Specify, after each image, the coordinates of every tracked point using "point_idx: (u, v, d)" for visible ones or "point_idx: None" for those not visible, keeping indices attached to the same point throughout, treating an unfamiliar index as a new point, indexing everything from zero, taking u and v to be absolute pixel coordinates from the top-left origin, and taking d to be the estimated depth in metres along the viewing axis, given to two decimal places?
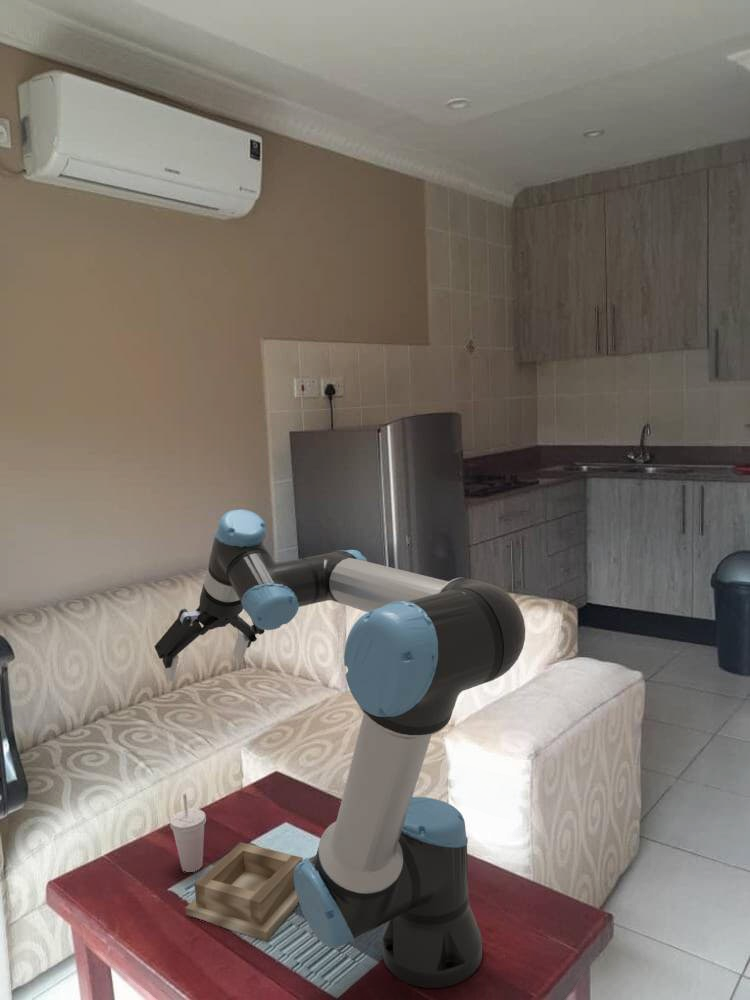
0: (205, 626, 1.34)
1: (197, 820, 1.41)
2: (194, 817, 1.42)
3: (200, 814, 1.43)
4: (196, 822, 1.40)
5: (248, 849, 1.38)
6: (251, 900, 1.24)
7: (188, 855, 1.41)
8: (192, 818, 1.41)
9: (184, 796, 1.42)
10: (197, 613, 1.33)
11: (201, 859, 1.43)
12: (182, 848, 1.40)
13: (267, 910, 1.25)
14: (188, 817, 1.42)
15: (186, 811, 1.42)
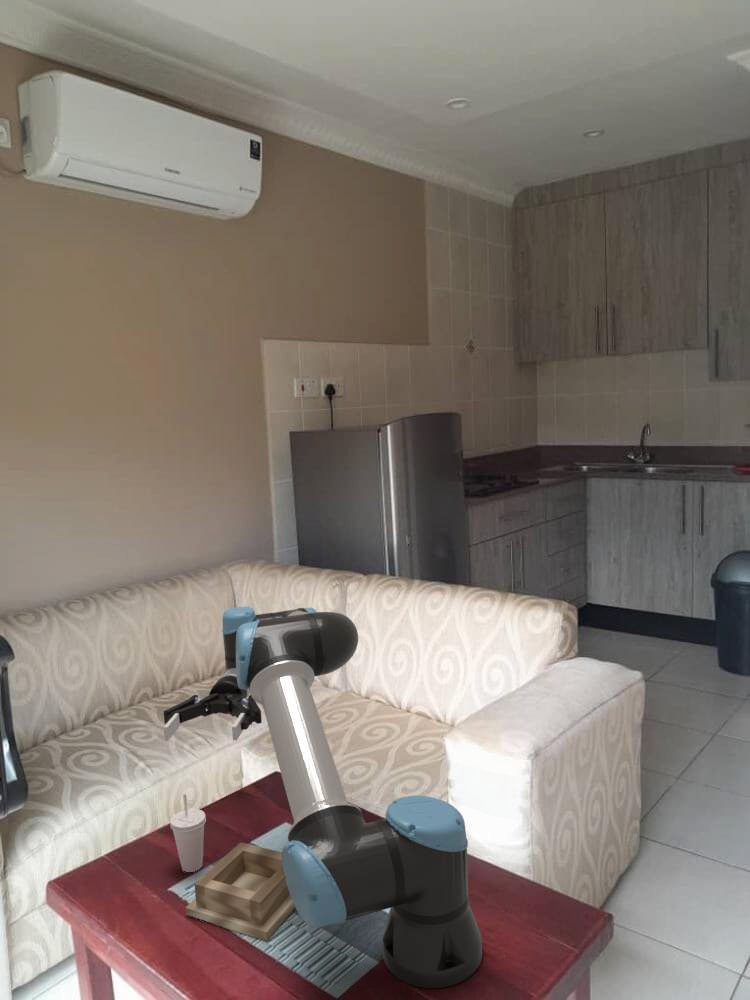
0: (207, 698, 1.64)
1: (197, 820, 1.41)
2: (194, 817, 1.42)
3: (200, 814, 1.43)
4: (196, 822, 1.40)
5: (248, 849, 1.38)
6: (251, 900, 1.24)
7: (188, 855, 1.41)
8: (192, 818, 1.41)
9: (184, 796, 1.42)
10: None
11: (201, 859, 1.43)
12: (182, 848, 1.40)
13: (267, 910, 1.25)
14: (188, 817, 1.42)
15: (186, 811, 1.42)
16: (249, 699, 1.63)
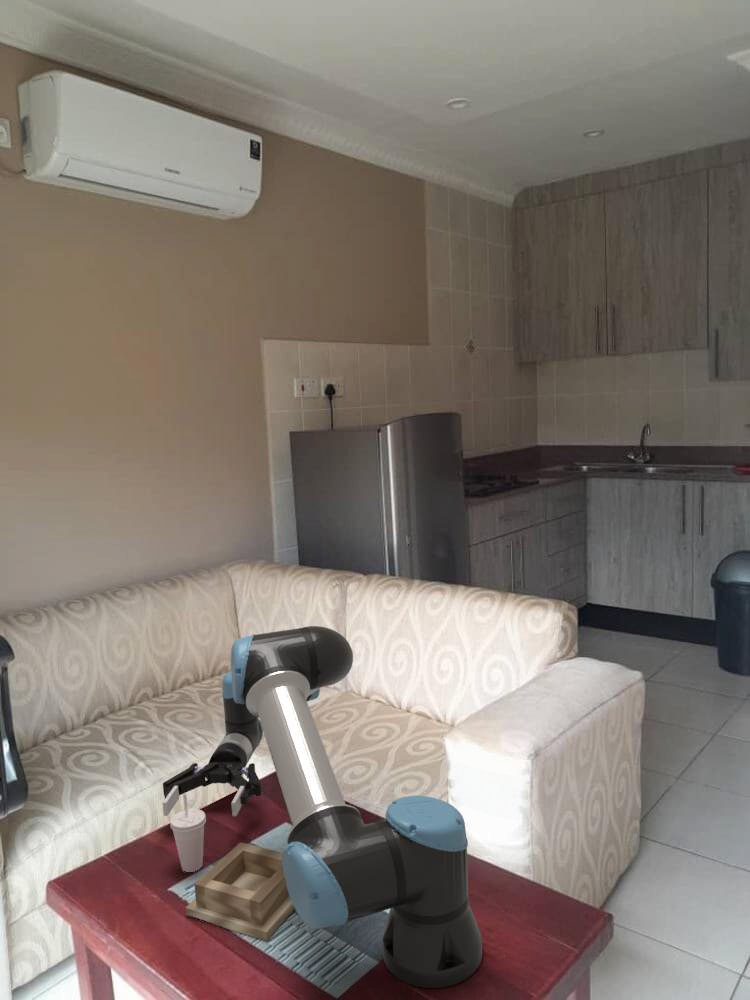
0: None
1: (197, 820, 1.41)
2: (194, 817, 1.42)
3: (200, 814, 1.43)
4: (196, 822, 1.40)
5: (248, 849, 1.38)
6: (251, 900, 1.24)
7: (188, 855, 1.41)
8: (192, 818, 1.41)
9: (184, 796, 1.42)
10: None
11: (201, 859, 1.43)
12: (182, 848, 1.40)
13: (267, 910, 1.25)
14: (188, 817, 1.42)
15: (186, 811, 1.42)
16: (249, 769, 1.62)
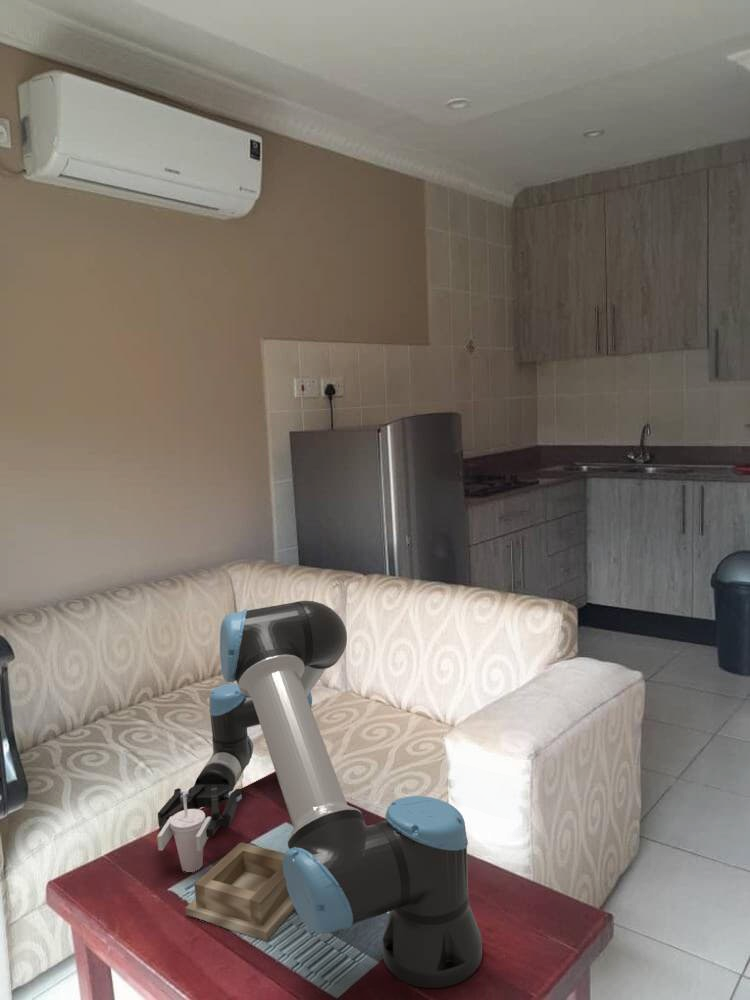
0: None
1: (197, 820, 1.41)
2: (194, 817, 1.42)
3: (200, 814, 1.43)
4: (196, 822, 1.40)
5: (248, 849, 1.38)
6: (251, 900, 1.24)
7: (188, 855, 1.41)
8: (192, 818, 1.41)
9: (184, 796, 1.42)
10: None
11: (201, 859, 1.43)
12: (182, 848, 1.40)
13: (267, 910, 1.25)
14: (188, 817, 1.42)
15: (186, 811, 1.42)
16: (231, 795, 1.51)
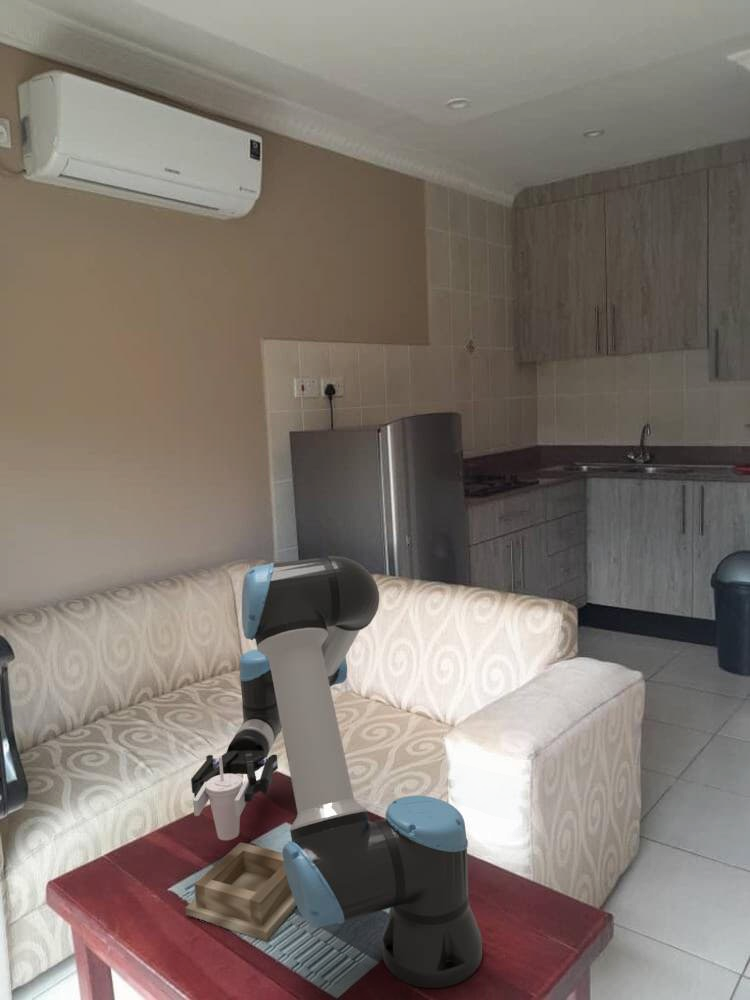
0: None
1: (234, 784, 1.33)
2: (230, 781, 1.34)
3: (236, 778, 1.35)
4: (233, 786, 1.33)
5: (248, 849, 1.38)
6: (251, 900, 1.24)
7: (225, 821, 1.33)
8: (229, 782, 1.34)
9: (220, 759, 1.34)
10: None
11: (238, 826, 1.35)
12: (219, 813, 1.33)
13: (267, 910, 1.25)
14: (224, 781, 1.34)
15: (222, 775, 1.34)
16: (267, 760, 1.43)
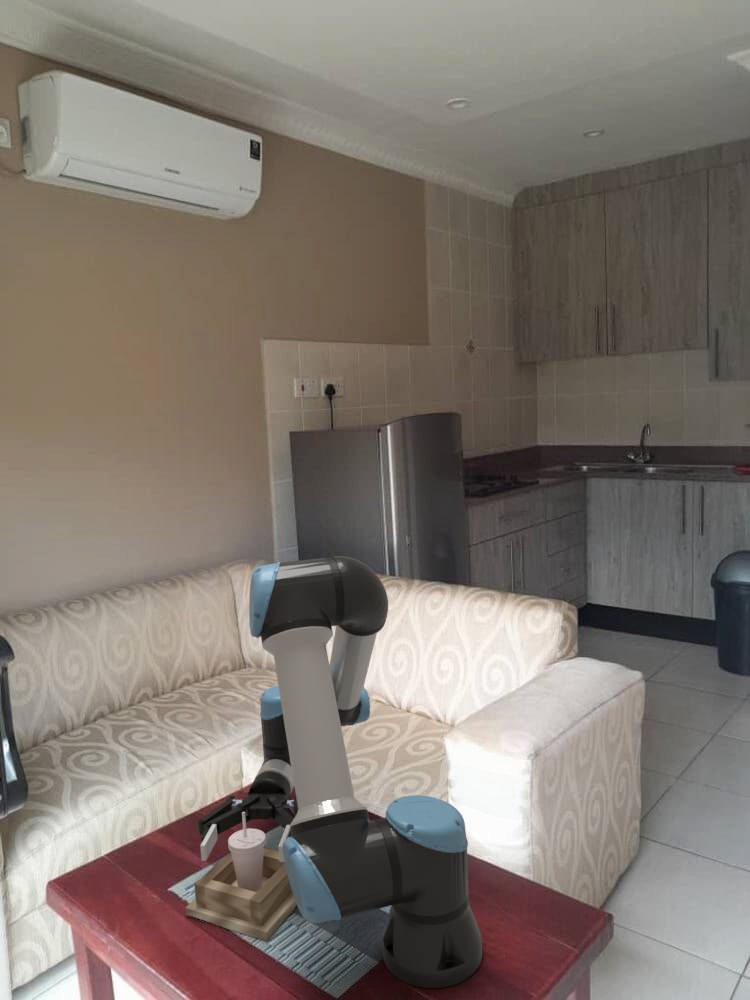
0: None
1: (257, 841, 1.31)
2: (254, 837, 1.31)
3: (260, 834, 1.33)
4: (256, 843, 1.30)
5: None
6: (251, 900, 1.24)
7: (248, 879, 1.30)
8: (252, 838, 1.31)
9: (243, 815, 1.31)
10: None
11: (260, 883, 1.32)
12: (241, 871, 1.30)
13: (267, 910, 1.25)
14: (247, 837, 1.31)
15: (245, 831, 1.32)
16: (295, 803, 1.41)
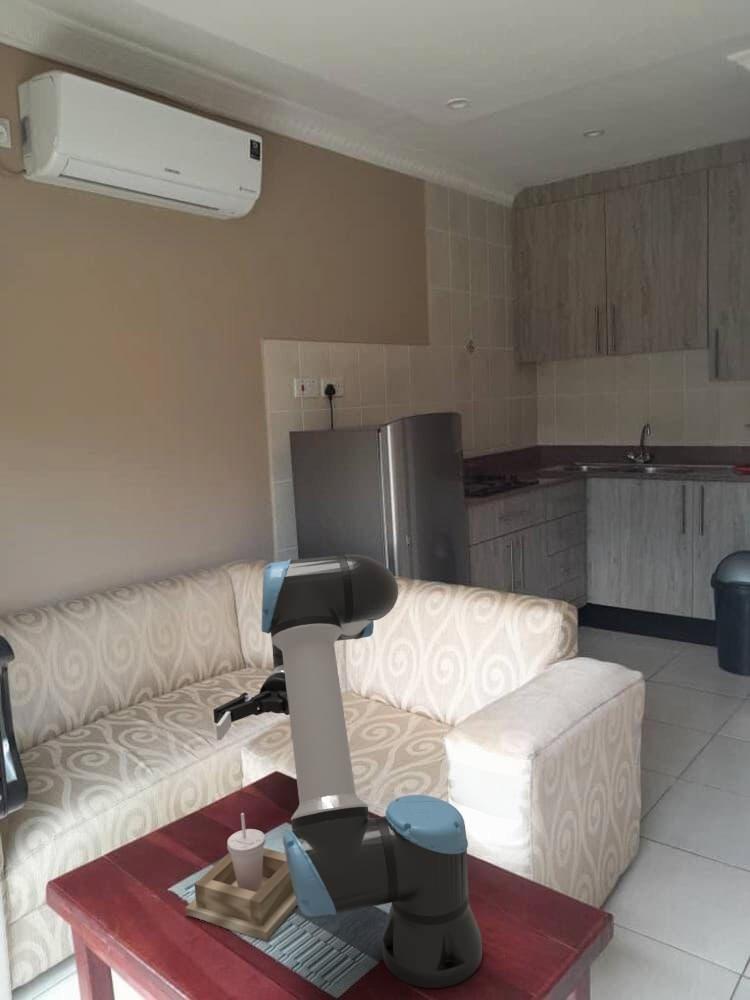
0: None
1: (256, 842, 1.30)
2: (253, 838, 1.31)
3: (259, 835, 1.32)
4: (256, 844, 1.30)
5: None
6: (251, 900, 1.24)
7: (248, 880, 1.30)
8: (251, 839, 1.31)
9: (242, 816, 1.31)
10: None
11: (260, 883, 1.32)
12: (241, 872, 1.30)
13: (267, 910, 1.25)
14: (246, 838, 1.31)
15: (244, 832, 1.31)
16: None
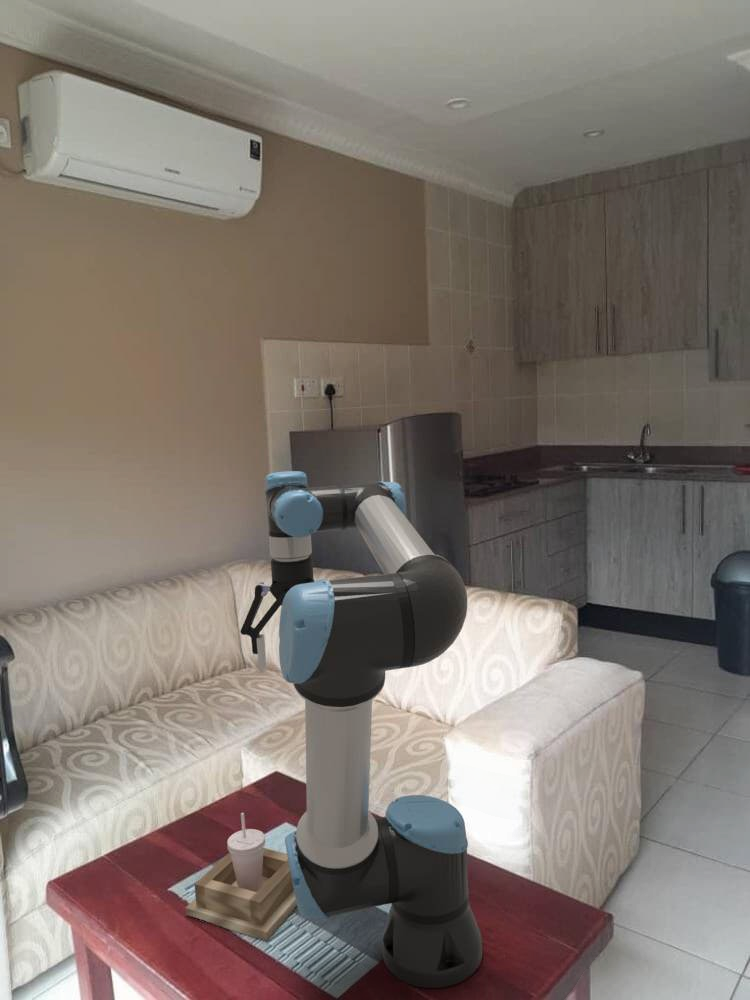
0: (276, 599, 1.41)
1: (256, 842, 1.30)
2: (253, 838, 1.31)
3: (259, 835, 1.32)
4: (256, 844, 1.30)
5: None
6: (251, 900, 1.24)
7: (248, 880, 1.30)
8: (251, 839, 1.31)
9: (242, 816, 1.31)
10: (270, 585, 1.42)
11: (260, 883, 1.32)
12: (241, 872, 1.30)
13: (267, 910, 1.25)
14: (246, 838, 1.31)
15: (244, 832, 1.31)
16: None
